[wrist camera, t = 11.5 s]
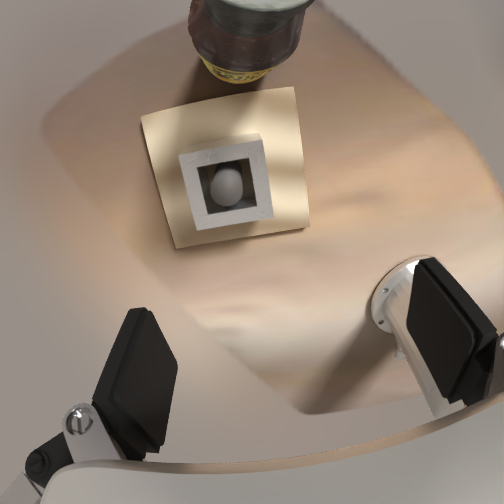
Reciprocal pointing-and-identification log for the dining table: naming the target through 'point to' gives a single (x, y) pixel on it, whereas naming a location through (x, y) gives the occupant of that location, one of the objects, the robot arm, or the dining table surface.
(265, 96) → the post block
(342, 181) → the dining table surface
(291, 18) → the sauce bottle
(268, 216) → the collar
